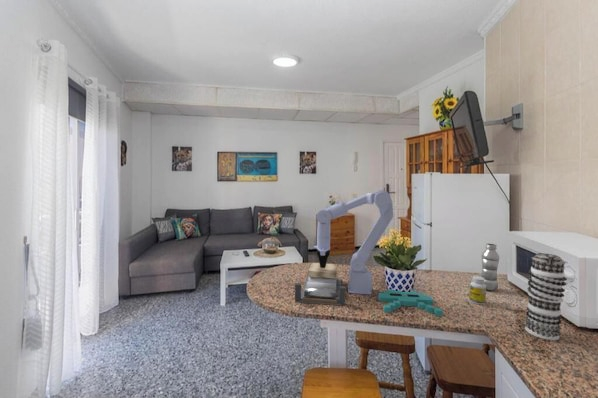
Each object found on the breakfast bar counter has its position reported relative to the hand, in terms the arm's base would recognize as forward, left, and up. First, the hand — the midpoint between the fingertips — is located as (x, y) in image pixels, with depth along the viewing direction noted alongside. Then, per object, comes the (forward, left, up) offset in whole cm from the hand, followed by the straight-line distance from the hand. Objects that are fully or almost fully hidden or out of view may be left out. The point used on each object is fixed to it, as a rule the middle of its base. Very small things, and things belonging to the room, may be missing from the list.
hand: (322, 267), depth 127 cm
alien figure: (-33, +10, -9) cm, 36 cm away
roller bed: (0, +4, -8) cm, 9 cm away
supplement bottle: (-61, +5, -9) cm, 62 cm away
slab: (0, -3, -3) cm, 5 cm away
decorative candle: (-71, +26, -9) cm, 76 cm away
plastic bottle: (-72, -10, -9) cm, 73 cm away
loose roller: (0, +14, -8) cm, 16 cm away
